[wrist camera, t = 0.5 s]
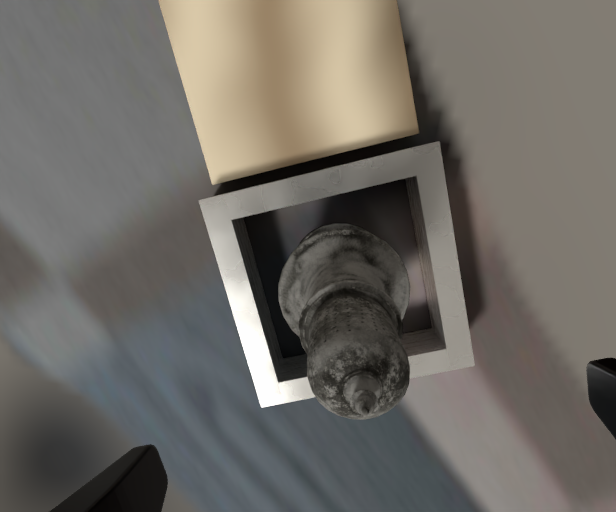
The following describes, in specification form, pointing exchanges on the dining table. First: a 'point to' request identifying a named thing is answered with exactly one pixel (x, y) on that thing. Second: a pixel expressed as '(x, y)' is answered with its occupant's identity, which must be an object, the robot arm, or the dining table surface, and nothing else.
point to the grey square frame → (323, 183)
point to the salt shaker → (349, 318)
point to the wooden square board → (290, 79)
